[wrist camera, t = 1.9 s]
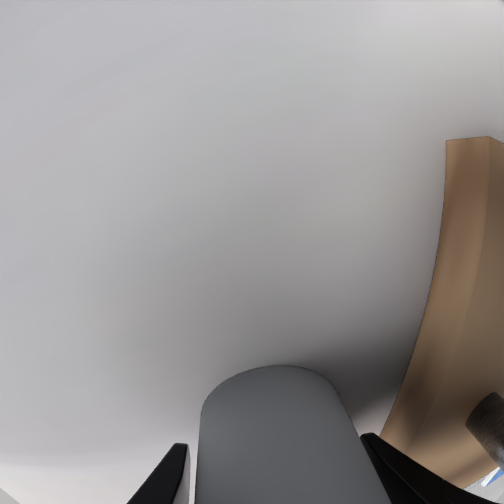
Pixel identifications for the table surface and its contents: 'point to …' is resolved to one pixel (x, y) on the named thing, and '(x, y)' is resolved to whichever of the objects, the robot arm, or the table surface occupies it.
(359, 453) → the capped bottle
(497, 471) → the tablet computer
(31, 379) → the table surface
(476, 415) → the hook post
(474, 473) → the base board
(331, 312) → the table surface
